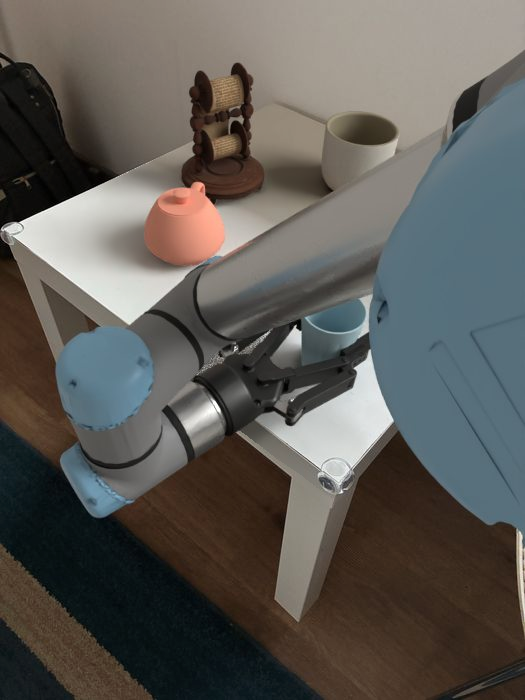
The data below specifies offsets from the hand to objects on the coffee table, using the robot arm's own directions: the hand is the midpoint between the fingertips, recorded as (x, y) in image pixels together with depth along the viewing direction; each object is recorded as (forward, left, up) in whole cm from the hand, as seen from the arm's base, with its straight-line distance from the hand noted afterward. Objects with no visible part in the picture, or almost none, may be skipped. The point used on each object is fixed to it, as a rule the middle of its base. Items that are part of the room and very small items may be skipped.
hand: (356, 317), depth 68 cm
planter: (+28, -29, -6) cm, 41 cm away
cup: (0, +5, -6) cm, 8 cm away
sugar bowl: (+31, +5, -6) cm, 32 cm away
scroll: (+42, -10, -6) cm, 44 cm away
